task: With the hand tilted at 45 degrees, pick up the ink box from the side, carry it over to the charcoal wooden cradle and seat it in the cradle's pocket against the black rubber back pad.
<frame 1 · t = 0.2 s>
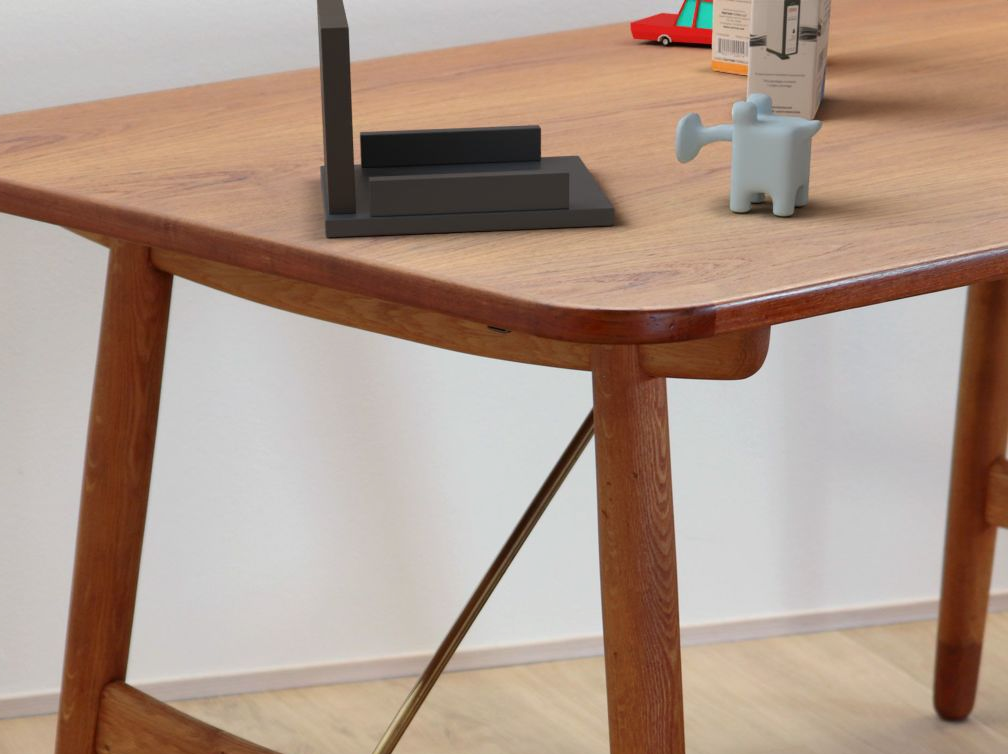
cradle: (459, 202, 113), on the table
toy car: (710, 45, 163), on the table
ink box: (785, 111, 136), on the table
supplement box: (765, 70, 151), on the table
figurine: (747, 210, 110), on the table
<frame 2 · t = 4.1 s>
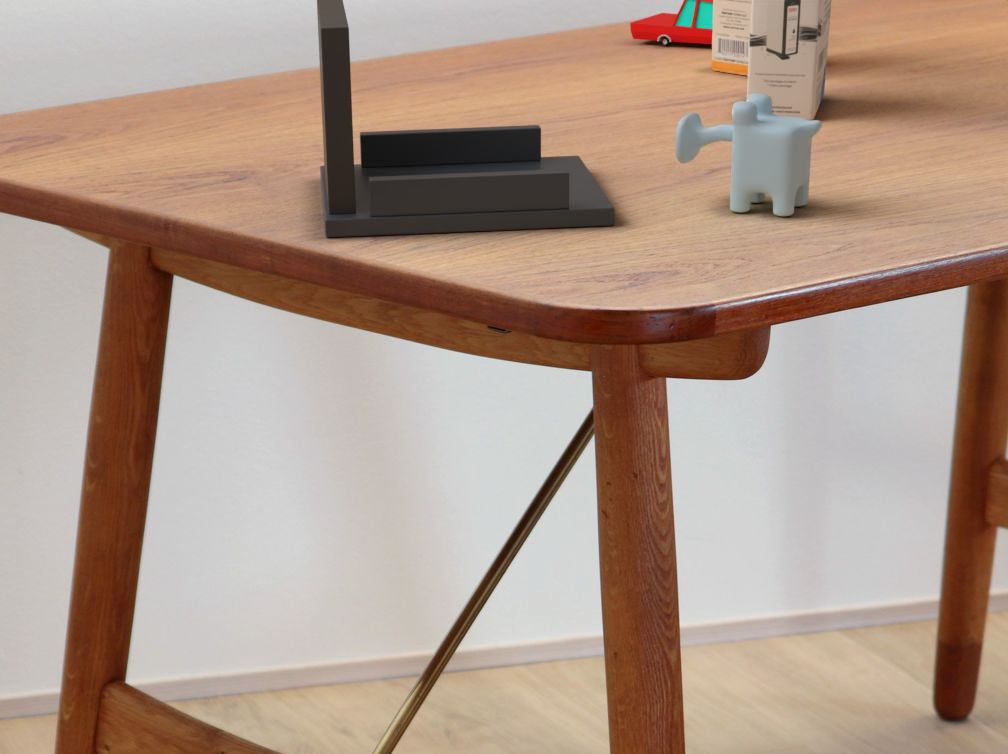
nothing on the table moved.
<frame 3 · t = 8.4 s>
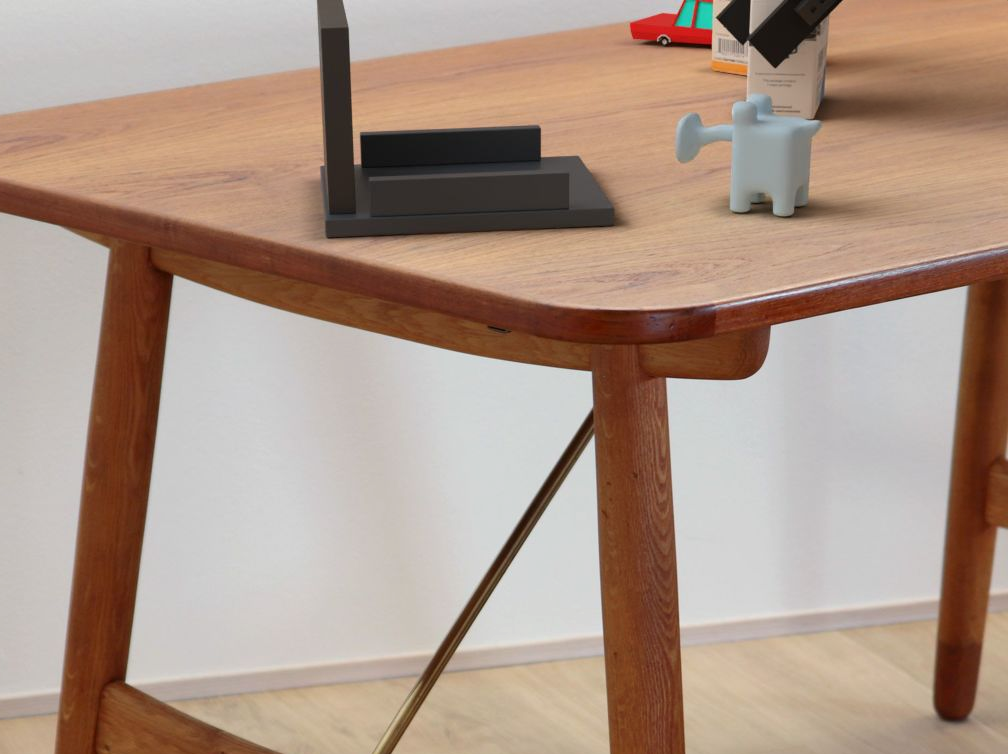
hand: (744, 42, 134), 5 cm above the table, tool tilted 45°, fingers closed on ink box, 9 cm apart
ink box: (785, 111, 136), on the table, touching gripper
everything else where it was.
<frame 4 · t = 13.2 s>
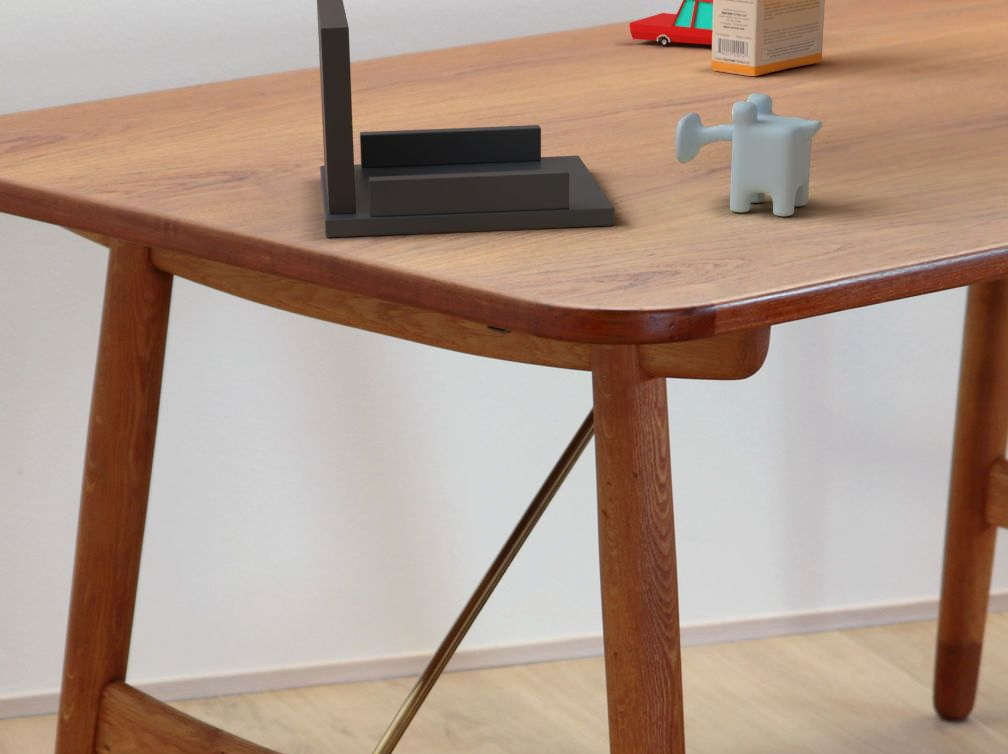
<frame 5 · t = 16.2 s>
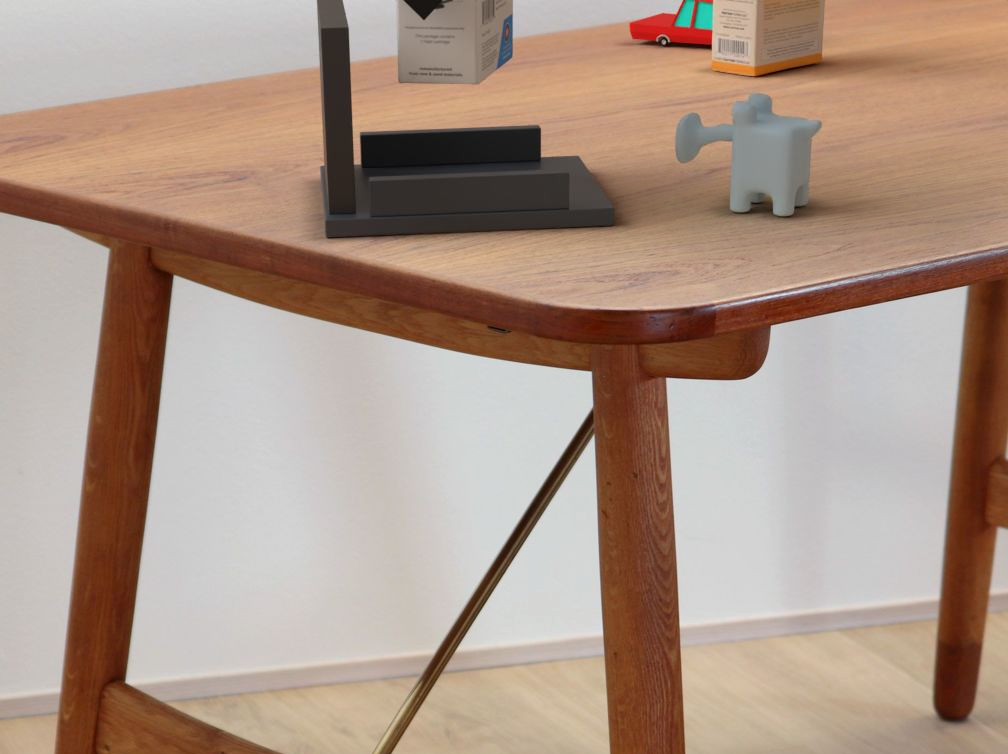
ink box: (457, 75, 110), point 7 cm above the table, touching gripper
everything else where it was.
when the fingers open (6 cm above the table, at t = 18.5 s): ink box stays where it is, resting on cradle.
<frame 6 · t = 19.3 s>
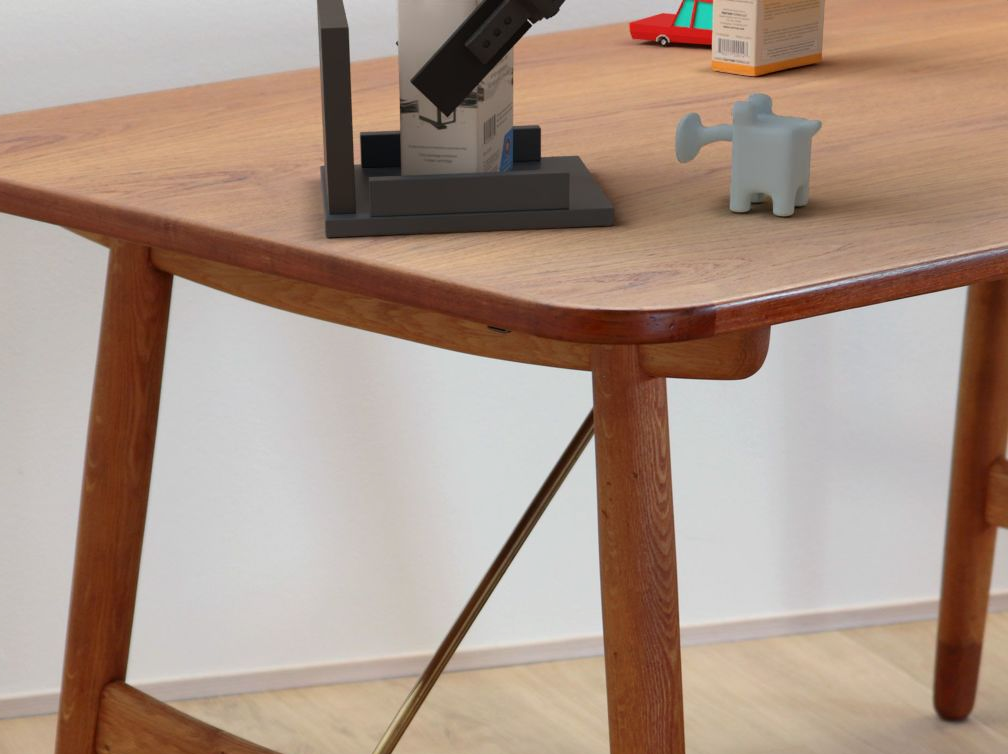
hand: (419, 78, 109), 7 cm above the table, tool tilted 45°, fingers open, 13 cm apart
ink box: (459, 188, 112), point 1 cm above the table, touching cradle
everything else where it was.
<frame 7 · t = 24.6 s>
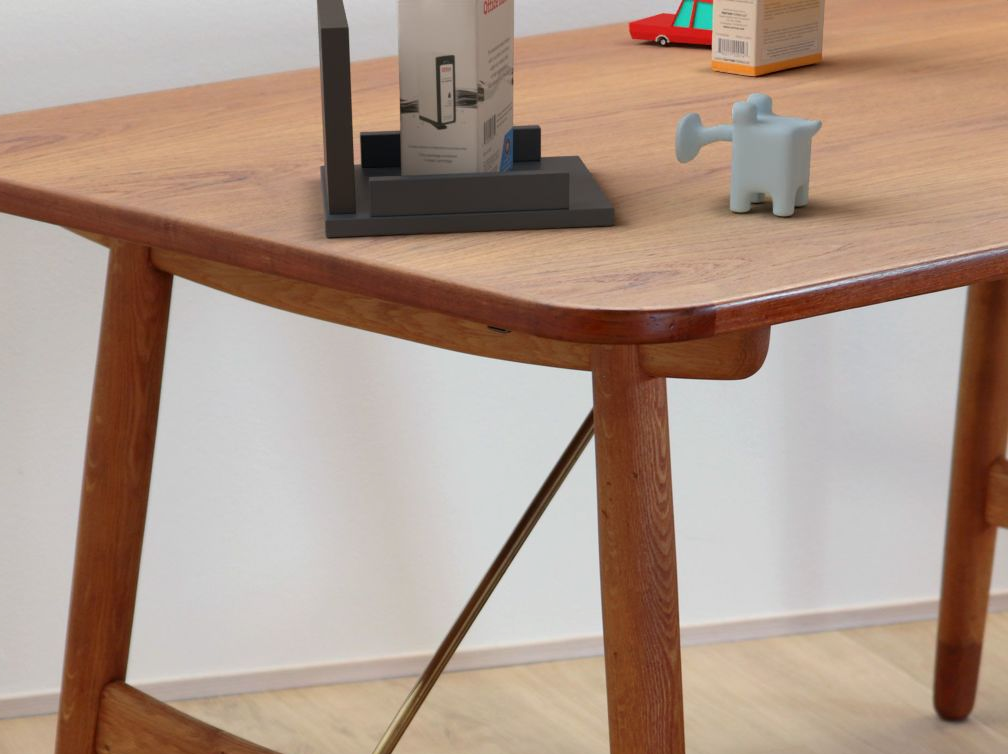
nothing on the table moved.
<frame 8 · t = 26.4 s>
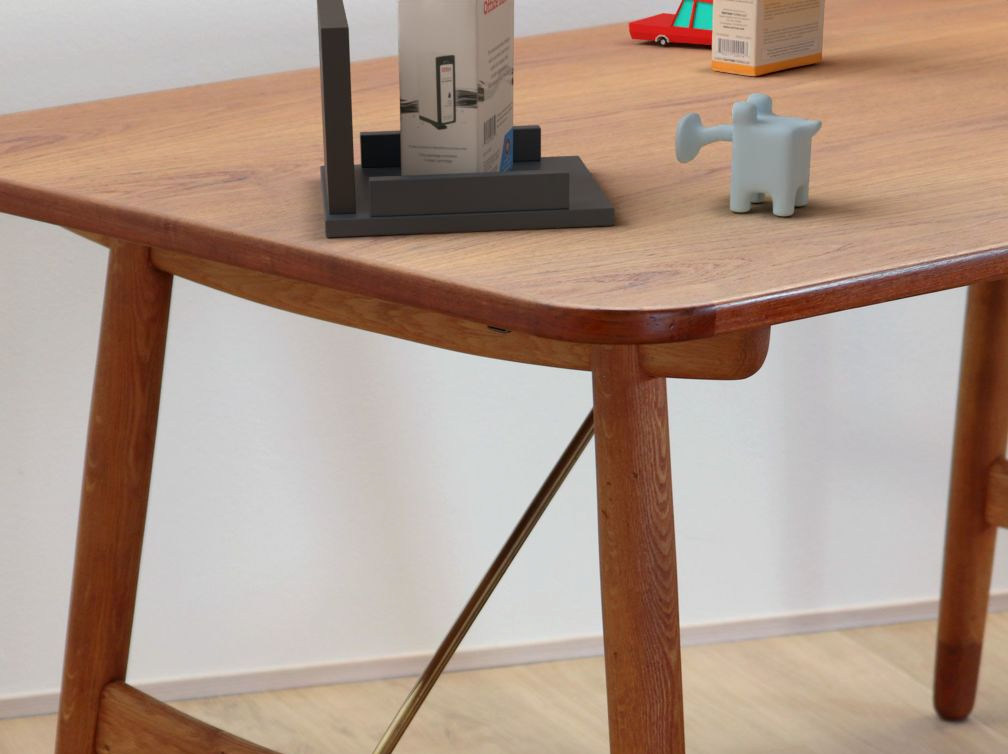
nothing on the table moved.
at the end: ink box inside the target area on the cradle (0.0 cm from its centre), point 0.8 cm above the cradle's base; ink box tilted 0°; the gripper is holding nothing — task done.
